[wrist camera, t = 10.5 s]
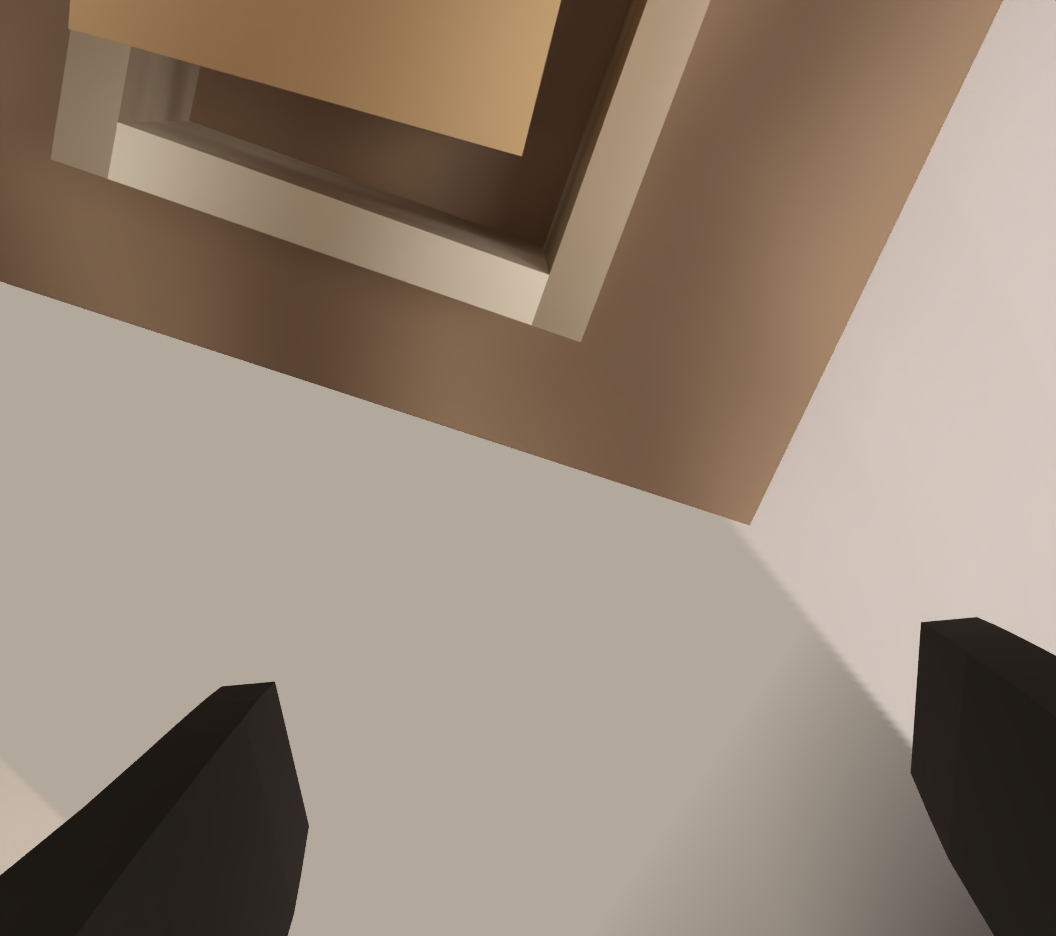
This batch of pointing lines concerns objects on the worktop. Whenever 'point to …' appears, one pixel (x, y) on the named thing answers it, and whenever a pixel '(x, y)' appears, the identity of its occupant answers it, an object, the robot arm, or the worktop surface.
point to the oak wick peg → (360, 53)
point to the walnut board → (506, 222)
